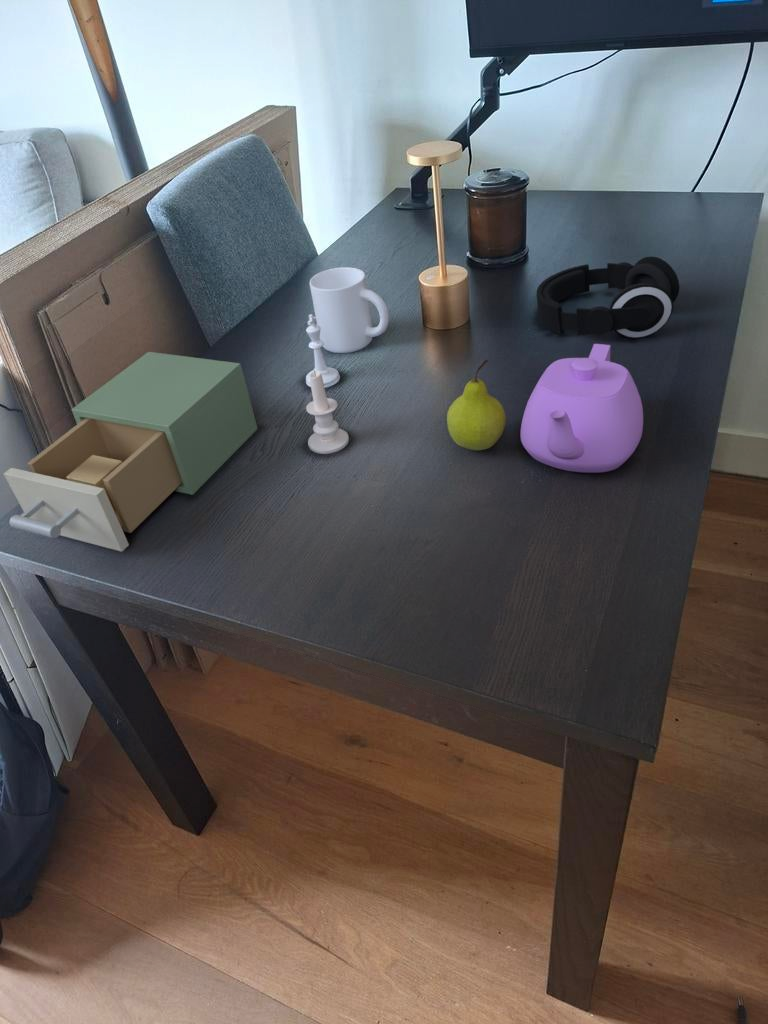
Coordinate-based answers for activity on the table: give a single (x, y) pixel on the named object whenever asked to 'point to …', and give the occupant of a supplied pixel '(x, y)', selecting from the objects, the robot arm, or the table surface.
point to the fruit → (476, 417)
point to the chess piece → (320, 356)
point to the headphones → (631, 309)
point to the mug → (345, 309)
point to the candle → (324, 420)
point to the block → (95, 472)
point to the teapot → (583, 414)
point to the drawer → (87, 507)
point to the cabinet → (180, 409)
